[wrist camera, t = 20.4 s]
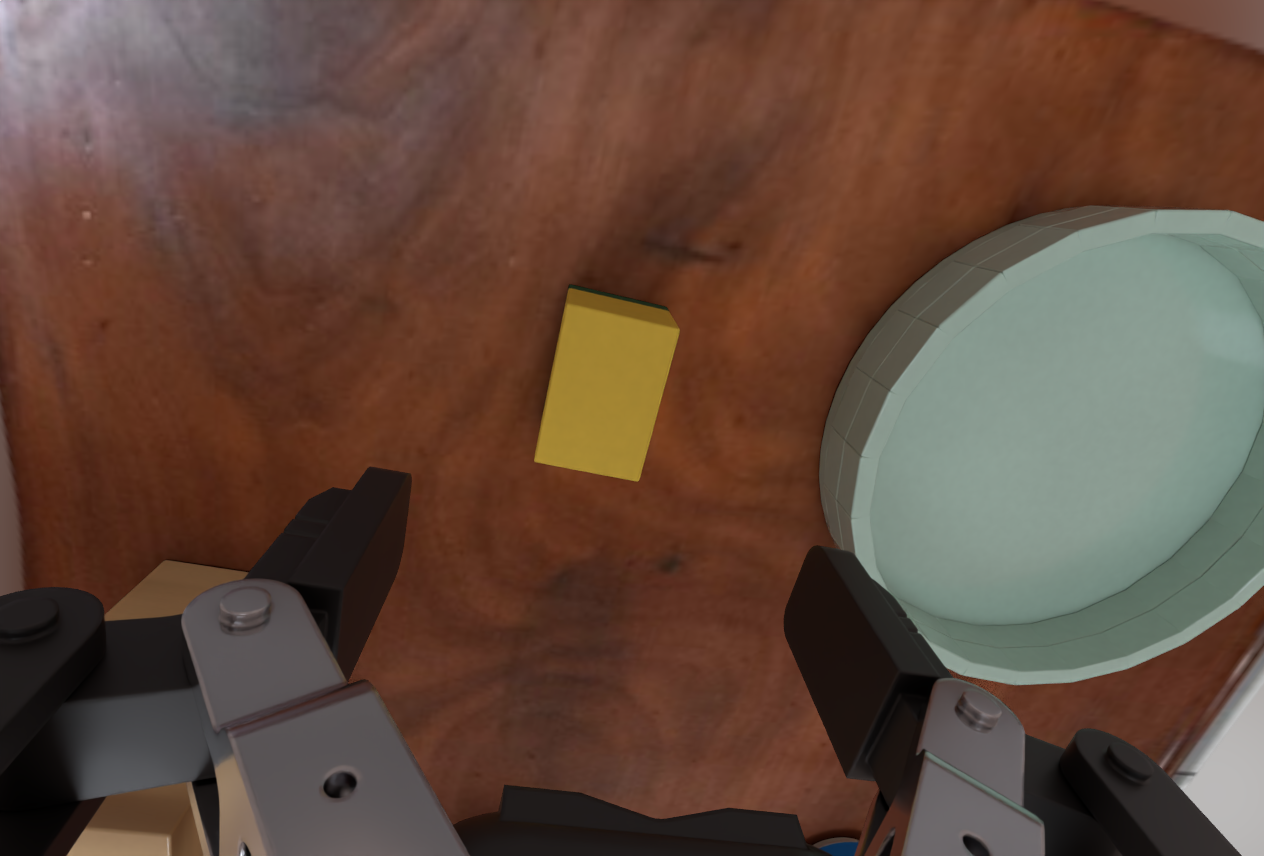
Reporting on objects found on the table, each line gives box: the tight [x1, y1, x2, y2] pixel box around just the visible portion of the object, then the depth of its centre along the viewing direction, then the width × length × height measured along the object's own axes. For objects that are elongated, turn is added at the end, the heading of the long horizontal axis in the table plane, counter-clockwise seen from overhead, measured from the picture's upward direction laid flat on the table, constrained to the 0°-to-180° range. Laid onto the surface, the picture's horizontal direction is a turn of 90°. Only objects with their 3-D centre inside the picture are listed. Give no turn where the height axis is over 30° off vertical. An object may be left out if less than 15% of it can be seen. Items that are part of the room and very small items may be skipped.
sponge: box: [534, 284, 680, 481], centre depth 24 cm, size 6×4×4 cm, turn 166°
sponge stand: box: [67, 560, 249, 856], centre depth 24 cm, size 9×7×12 cm
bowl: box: [819, 205, 1264, 685], centre depth 27 cm, size 21×21×4 cm
